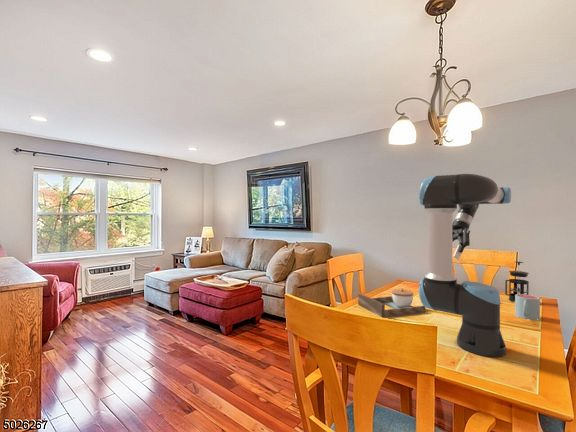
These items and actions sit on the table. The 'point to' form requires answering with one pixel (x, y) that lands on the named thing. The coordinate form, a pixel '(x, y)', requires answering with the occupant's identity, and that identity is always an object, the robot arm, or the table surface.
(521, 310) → the mug
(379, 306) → the bay
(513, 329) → the table surface
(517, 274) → the french press
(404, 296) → the lidded jar
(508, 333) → the table surface
